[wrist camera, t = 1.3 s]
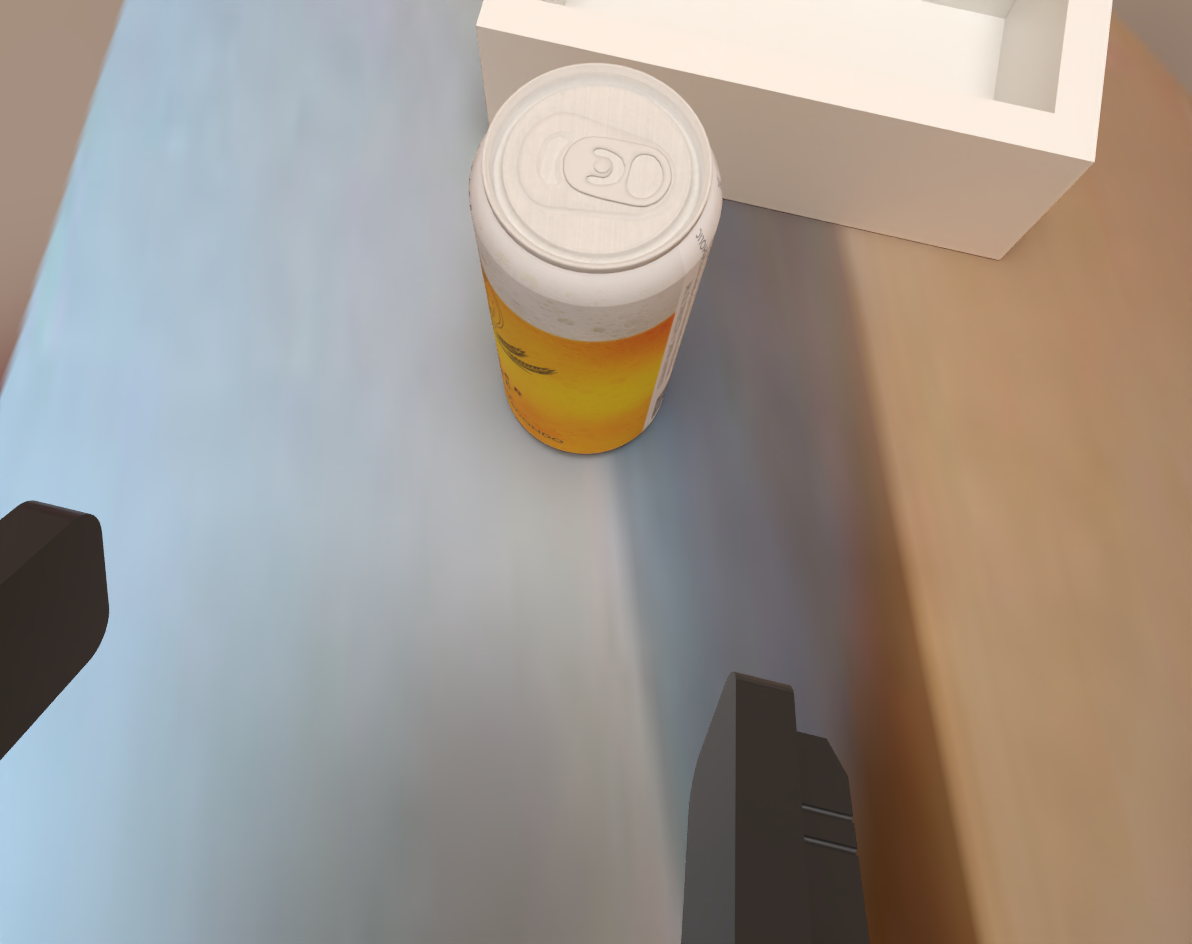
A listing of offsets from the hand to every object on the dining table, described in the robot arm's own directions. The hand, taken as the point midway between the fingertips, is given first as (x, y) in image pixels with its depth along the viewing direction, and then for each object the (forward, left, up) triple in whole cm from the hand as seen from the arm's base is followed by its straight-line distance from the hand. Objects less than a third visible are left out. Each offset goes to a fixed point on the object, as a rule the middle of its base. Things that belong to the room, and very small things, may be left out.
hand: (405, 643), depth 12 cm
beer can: (0, -12, -22) cm, 25 cm away
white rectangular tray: (-5, -27, -22) cm, 35 cm away
